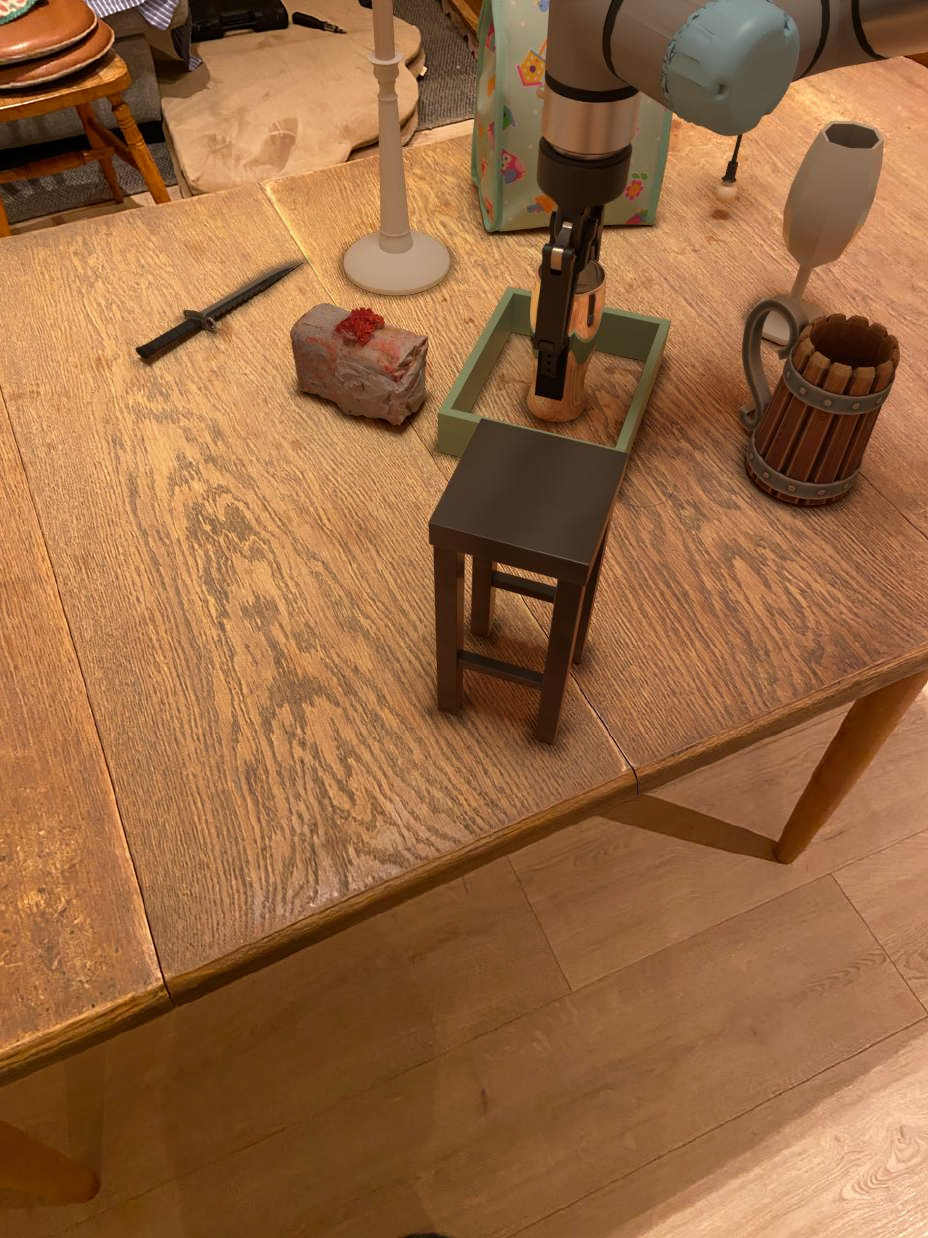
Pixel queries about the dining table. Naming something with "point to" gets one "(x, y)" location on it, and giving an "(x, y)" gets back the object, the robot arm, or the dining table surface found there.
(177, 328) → the knife
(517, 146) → the lunch bag
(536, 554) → the stool
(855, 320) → the mug
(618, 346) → the green rectangular open frame
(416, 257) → the candlestick
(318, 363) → the food item
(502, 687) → the dining table surface
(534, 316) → the beer glass
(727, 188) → the light fixture
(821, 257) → the wineglass
